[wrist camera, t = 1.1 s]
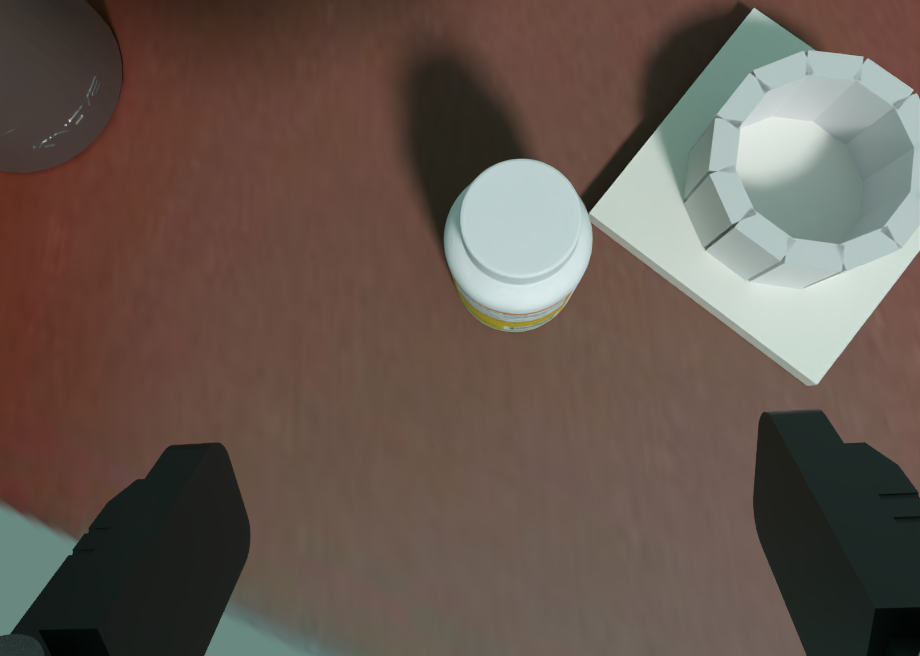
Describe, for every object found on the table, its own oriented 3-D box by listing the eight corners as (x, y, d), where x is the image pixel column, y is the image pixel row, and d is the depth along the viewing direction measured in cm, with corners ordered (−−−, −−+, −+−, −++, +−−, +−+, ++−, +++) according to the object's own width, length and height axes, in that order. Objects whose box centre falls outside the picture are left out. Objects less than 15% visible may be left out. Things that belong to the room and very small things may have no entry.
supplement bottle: (496, 194, 34) (495, 105, 24) (597, 256, 33) (637, 190, 24) (431, 291, 34) (404, 241, 24) (532, 356, 33) (546, 332, 23)
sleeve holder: (586, 219, 34) (602, 184, 29) (746, 19, 34) (788, -48, 29) (807, 385, 32) (863, 380, 27) (968, 174, 33) (1052, 131, 28)
